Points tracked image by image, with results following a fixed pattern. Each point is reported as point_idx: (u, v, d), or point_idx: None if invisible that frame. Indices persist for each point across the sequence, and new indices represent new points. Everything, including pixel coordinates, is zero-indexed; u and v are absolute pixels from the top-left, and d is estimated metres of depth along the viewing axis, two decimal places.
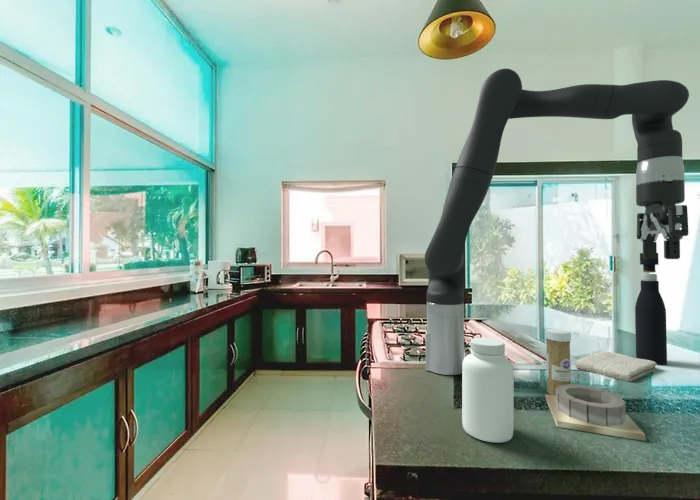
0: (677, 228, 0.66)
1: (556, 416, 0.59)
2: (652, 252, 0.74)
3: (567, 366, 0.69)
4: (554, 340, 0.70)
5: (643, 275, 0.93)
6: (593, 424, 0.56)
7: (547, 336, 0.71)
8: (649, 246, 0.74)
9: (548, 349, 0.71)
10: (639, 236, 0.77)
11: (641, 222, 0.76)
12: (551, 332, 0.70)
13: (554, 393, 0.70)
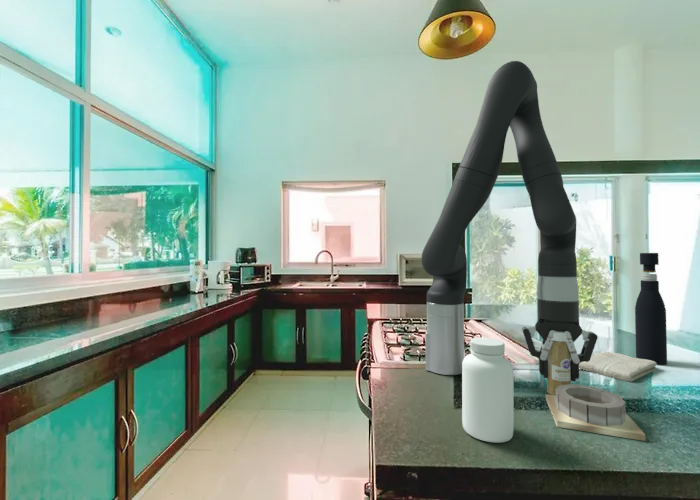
0: None
1: (556, 416, 0.59)
2: None
3: (567, 366, 0.69)
4: (554, 340, 0.70)
5: (643, 275, 0.93)
6: (593, 424, 0.56)
7: None
8: (546, 364, 0.72)
9: None
10: (535, 353, 0.72)
11: (531, 337, 0.72)
12: None
13: (554, 393, 0.70)
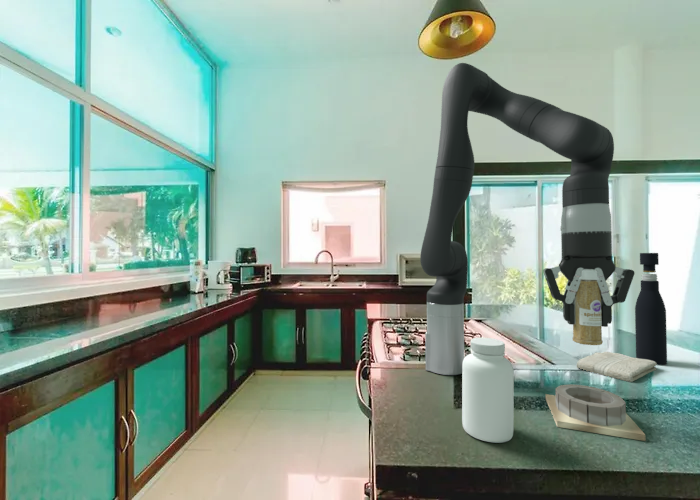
0: None
1: (556, 416, 0.59)
2: None
3: (598, 309, 0.59)
4: (583, 278, 0.60)
5: (643, 275, 0.93)
6: (593, 424, 0.56)
7: None
8: None
9: None
10: (560, 295, 0.62)
11: None
12: None
13: (582, 341, 0.60)
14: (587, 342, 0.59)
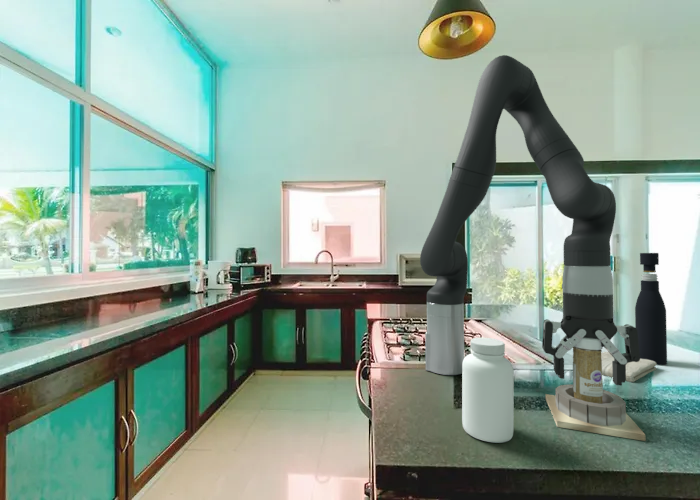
0: None
1: (556, 416, 0.59)
2: None
3: (599, 379, 0.59)
4: (583, 347, 0.60)
5: (643, 275, 0.93)
6: (593, 424, 0.56)
7: None
8: None
9: (575, 359, 0.61)
10: (550, 350, 0.62)
11: None
12: None
13: None
14: None
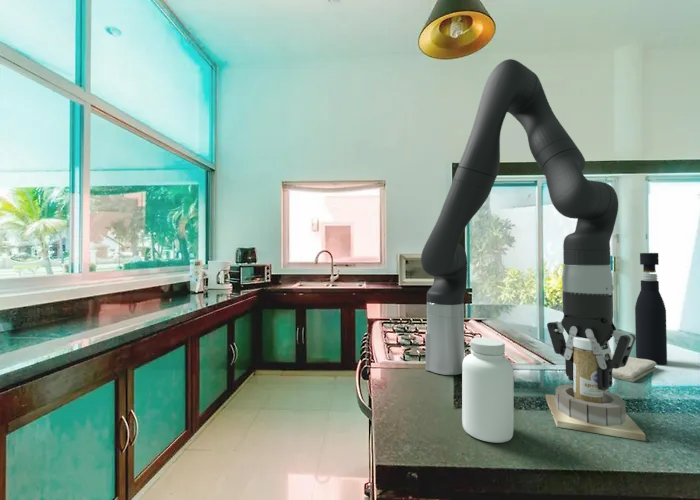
0: (609, 354, 0.59)
1: (556, 416, 0.59)
2: None
3: None
4: (584, 348, 0.59)
5: (643, 275, 0.93)
6: (593, 424, 0.56)
7: (574, 344, 0.61)
8: None
9: (575, 359, 0.61)
10: (560, 350, 0.64)
11: (556, 333, 0.65)
12: (579, 339, 0.60)
13: None
14: None
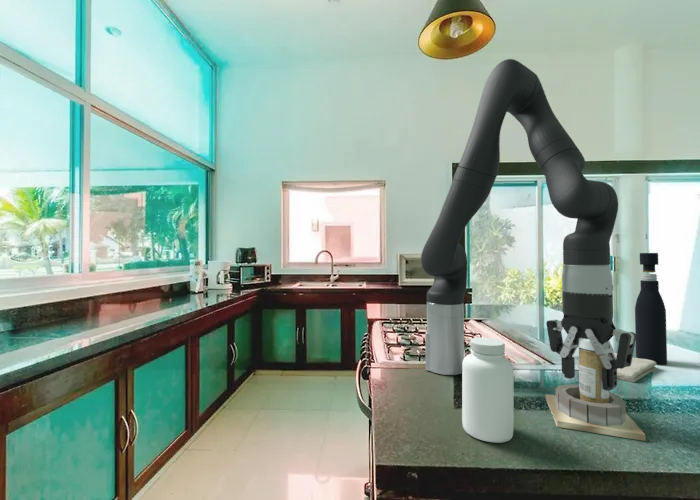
0: (612, 353, 0.58)
1: (556, 416, 0.59)
2: (572, 370, 0.63)
3: None
4: None
5: (643, 275, 0.93)
6: (593, 424, 0.56)
7: None
8: (570, 363, 0.63)
9: (593, 363, 0.59)
10: (556, 348, 0.65)
11: (554, 331, 0.65)
12: None
13: None
14: None
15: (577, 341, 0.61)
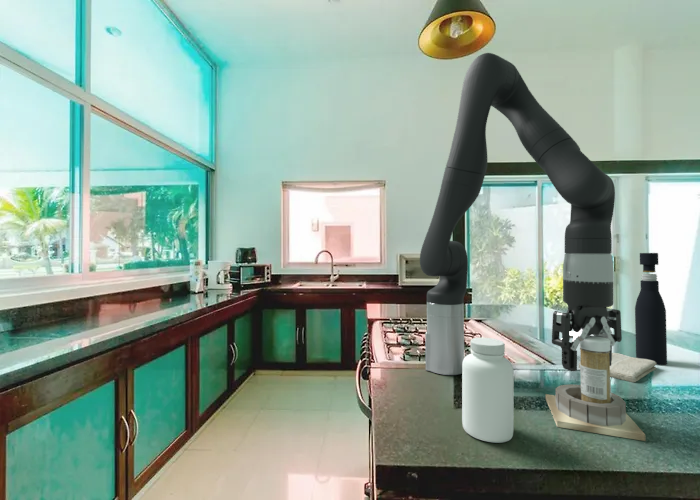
0: None
1: (556, 416, 0.59)
2: None
3: None
4: (610, 349, 0.59)
5: (643, 275, 0.93)
6: (593, 424, 0.56)
7: (606, 348, 0.58)
8: None
9: (605, 364, 0.58)
10: (568, 343, 0.58)
11: None
12: (608, 341, 0.58)
13: None
14: None
15: None
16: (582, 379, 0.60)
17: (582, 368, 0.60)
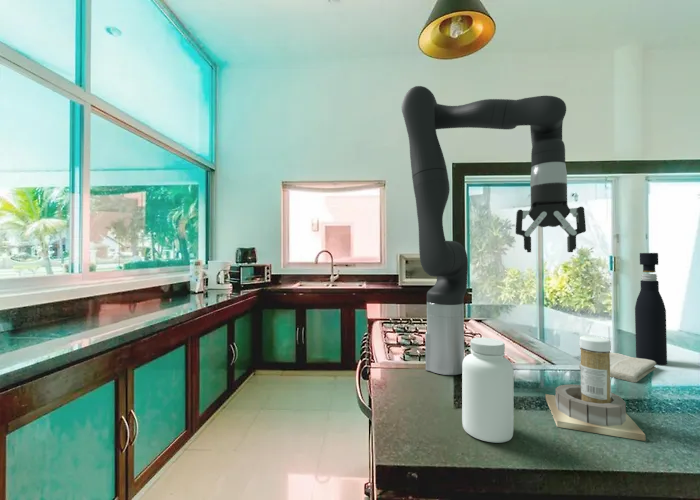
0: None
1: (556, 416, 0.59)
2: None
3: None
4: None
5: (643, 275, 0.93)
6: (593, 424, 0.56)
7: (606, 348, 0.58)
8: (530, 241, 0.81)
9: (605, 364, 0.58)
10: (521, 231, 0.81)
11: (522, 218, 0.81)
12: (609, 341, 0.58)
13: None
14: None
15: (542, 223, 0.80)
16: (582, 379, 0.60)
17: (582, 368, 0.60)
